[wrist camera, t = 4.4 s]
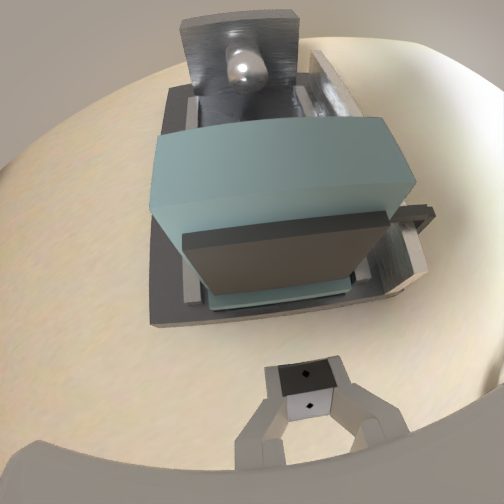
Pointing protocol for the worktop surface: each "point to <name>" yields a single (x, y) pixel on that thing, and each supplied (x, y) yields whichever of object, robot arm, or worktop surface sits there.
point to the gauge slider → (280, 203)
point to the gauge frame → (259, 108)
